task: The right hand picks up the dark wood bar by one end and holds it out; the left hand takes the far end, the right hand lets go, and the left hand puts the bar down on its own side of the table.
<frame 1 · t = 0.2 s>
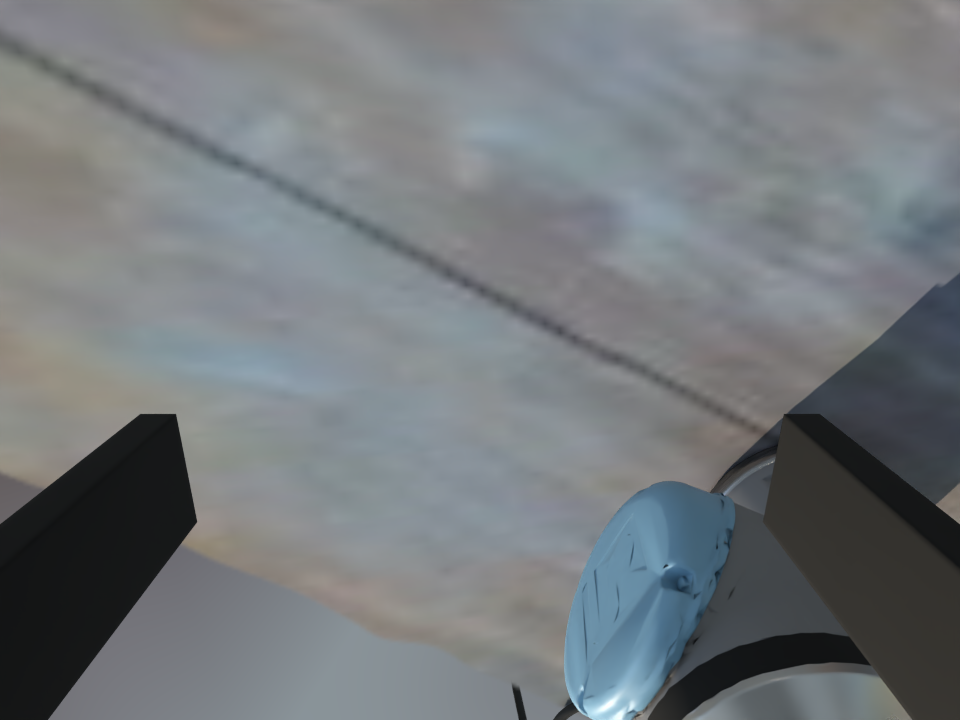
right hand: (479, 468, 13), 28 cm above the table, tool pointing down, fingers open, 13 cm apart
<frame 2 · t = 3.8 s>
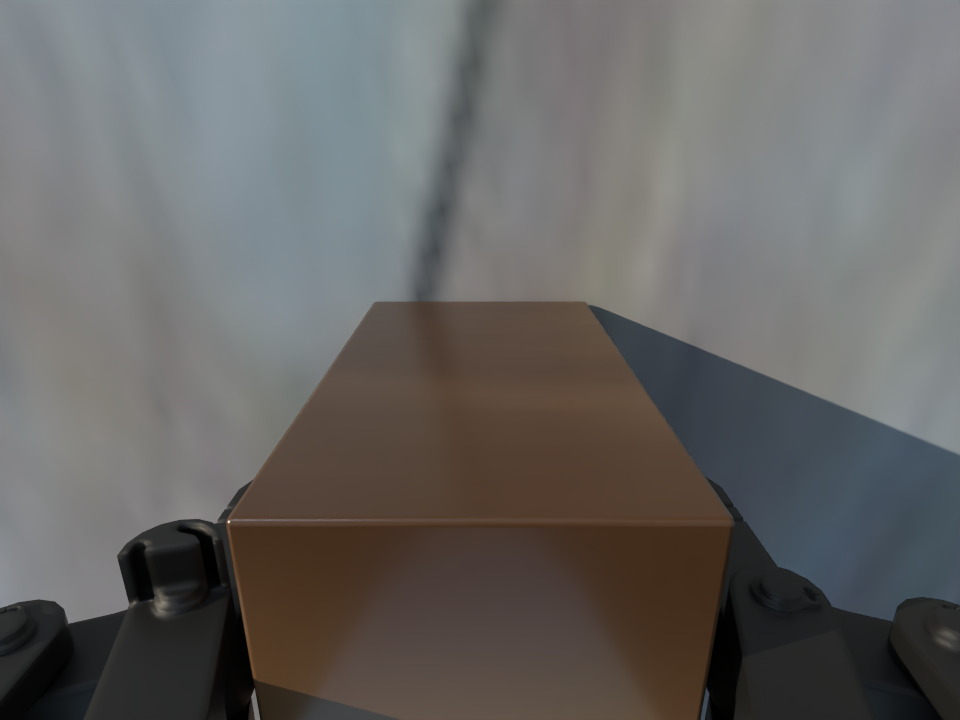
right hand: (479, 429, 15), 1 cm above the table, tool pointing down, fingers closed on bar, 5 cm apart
bar: (480, 684, 18), on the table, touching right hand
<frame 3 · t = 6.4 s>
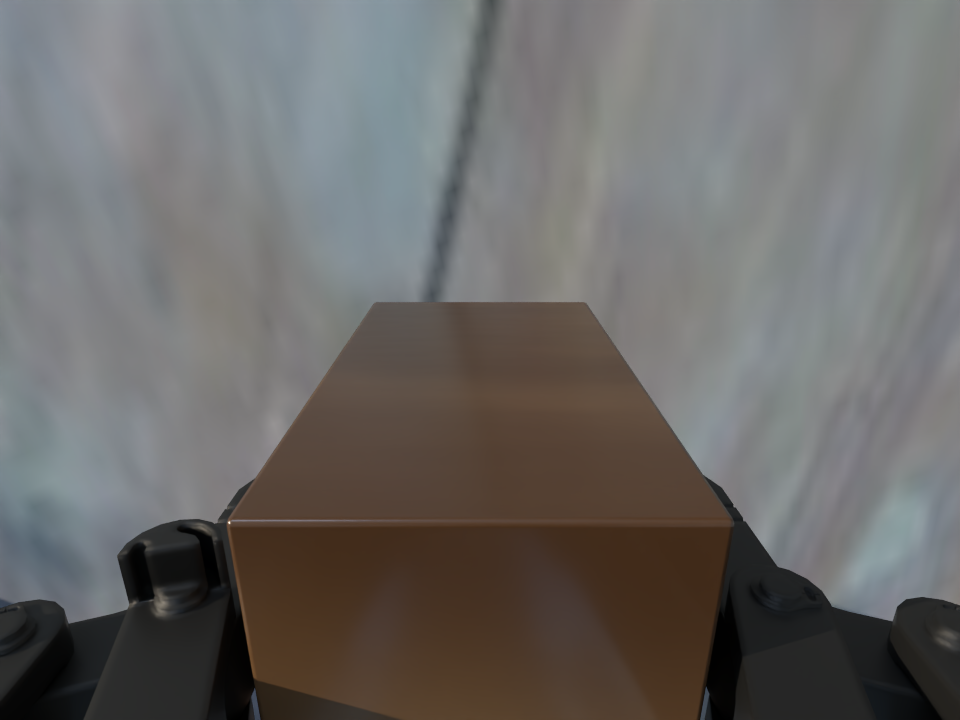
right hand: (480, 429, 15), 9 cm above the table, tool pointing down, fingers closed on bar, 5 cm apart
bar: (480, 684, 18), point 8 cm above the table, touching right hand
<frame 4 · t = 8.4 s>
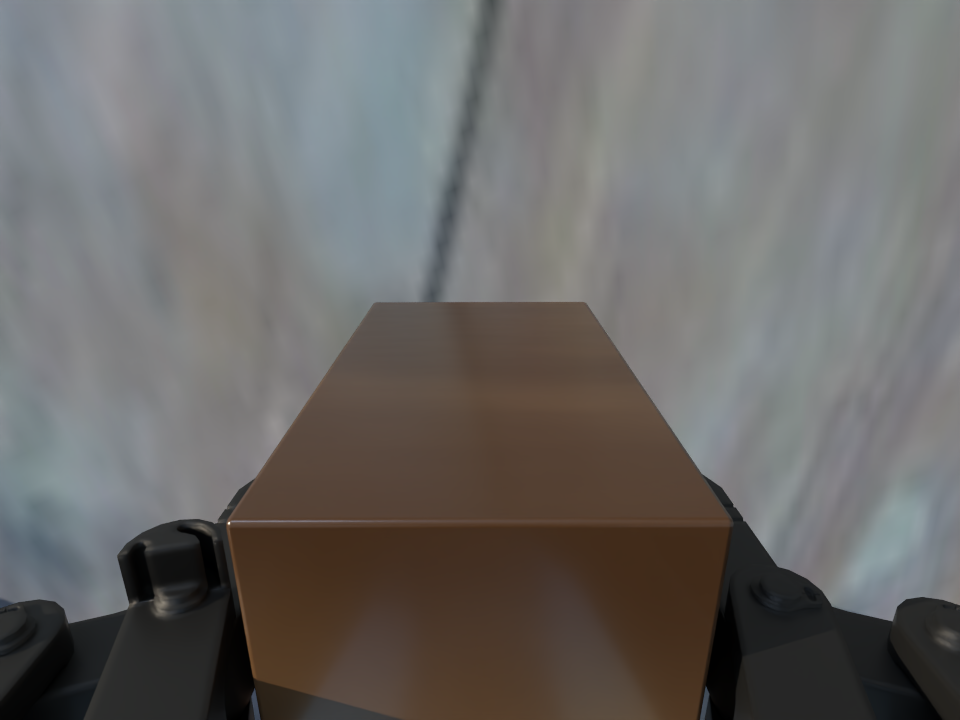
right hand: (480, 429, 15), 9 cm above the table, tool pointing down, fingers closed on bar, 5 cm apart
bar: (480, 684, 18), point 8 cm above the table, touching right hand, left hand
when the right hand's fingers open (9 cm above the table, at t = 9.1 s): bar stays where it is, held by the left hand.
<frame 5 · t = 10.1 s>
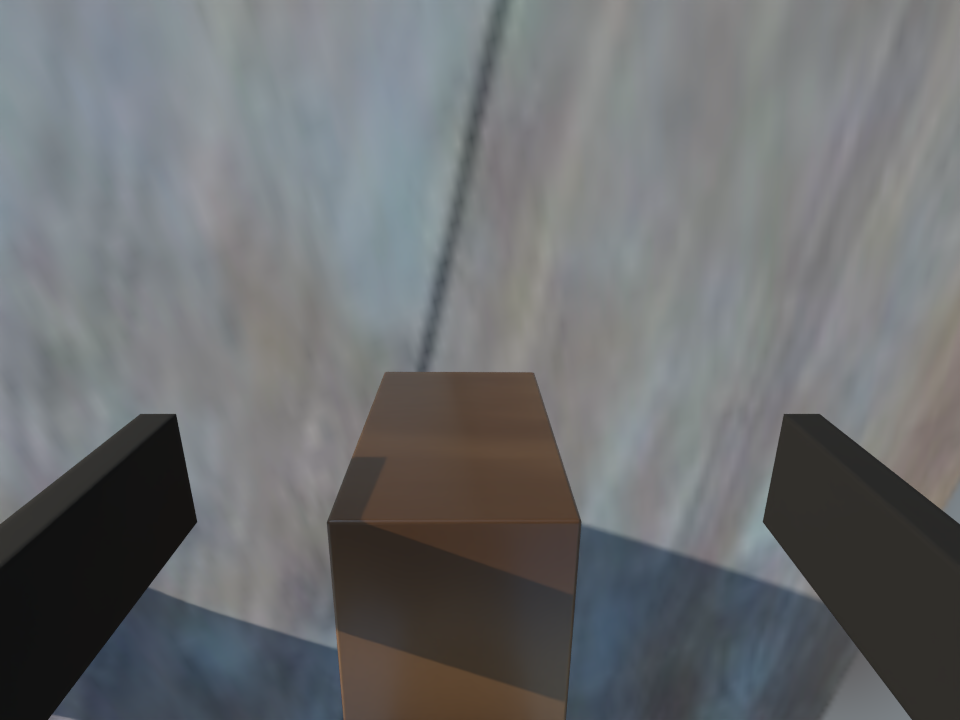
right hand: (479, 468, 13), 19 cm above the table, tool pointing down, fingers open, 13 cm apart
bar: (459, 653, 24), point 11 cm above the table, touching left hand
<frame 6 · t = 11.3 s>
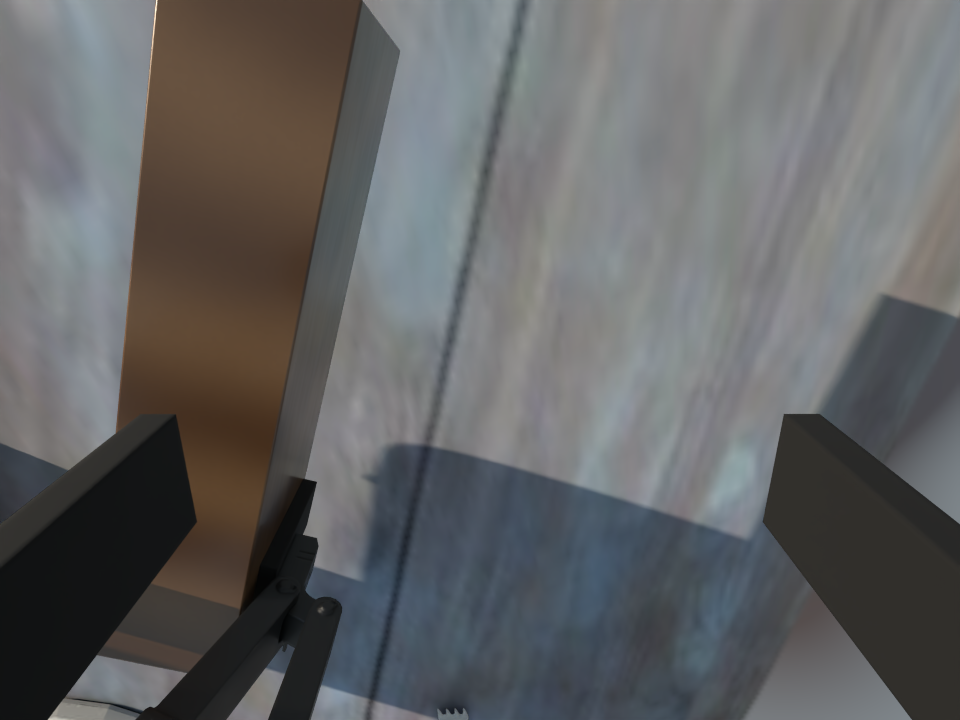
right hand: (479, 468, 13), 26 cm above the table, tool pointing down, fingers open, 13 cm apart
bar: (283, 316, 27), point 11 cm above the table, touching left hand
when the left hand's fingers open (2 cm above the table, at t = 14.6 s): bar drops 2 cm, on the table.
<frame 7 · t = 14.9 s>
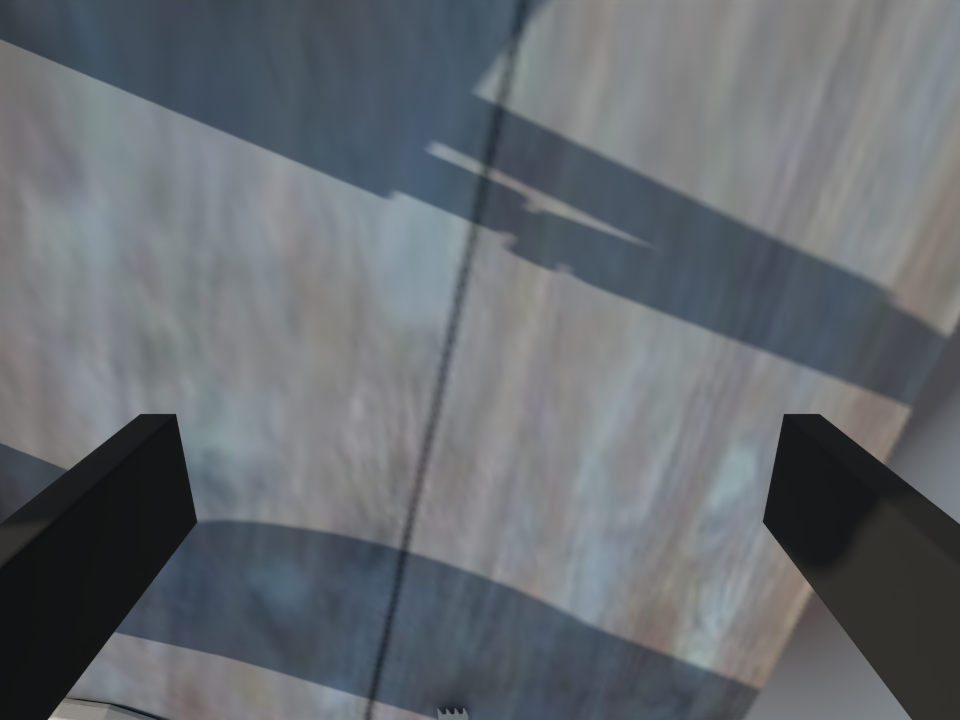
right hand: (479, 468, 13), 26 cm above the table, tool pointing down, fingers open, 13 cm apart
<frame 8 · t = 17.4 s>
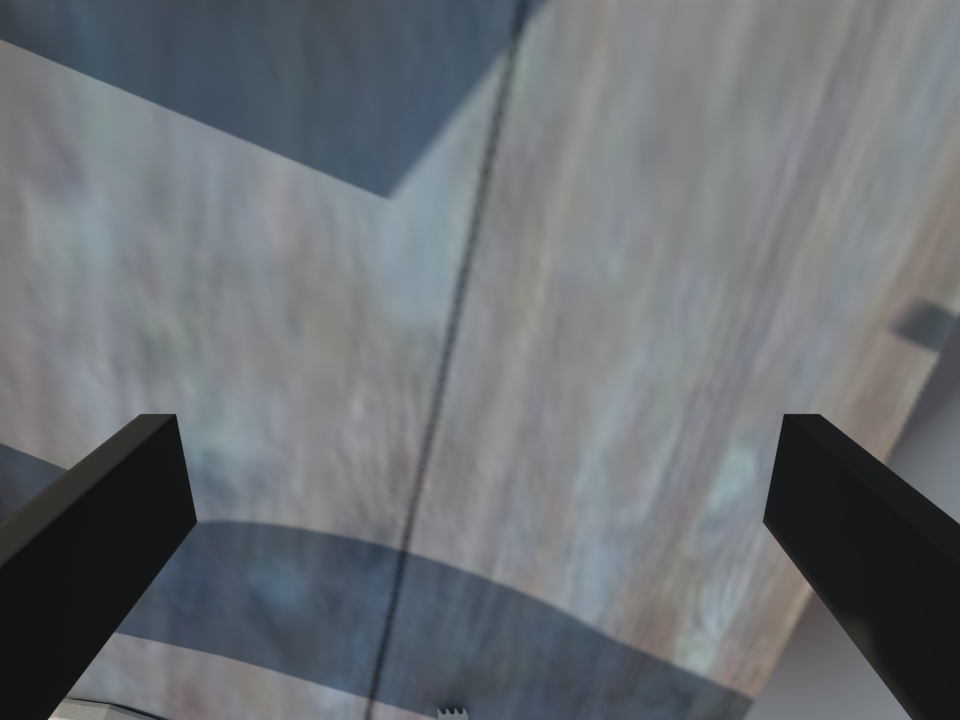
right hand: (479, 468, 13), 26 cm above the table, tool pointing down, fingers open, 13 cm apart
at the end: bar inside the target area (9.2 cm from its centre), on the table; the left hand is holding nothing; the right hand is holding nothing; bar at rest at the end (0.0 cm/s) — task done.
